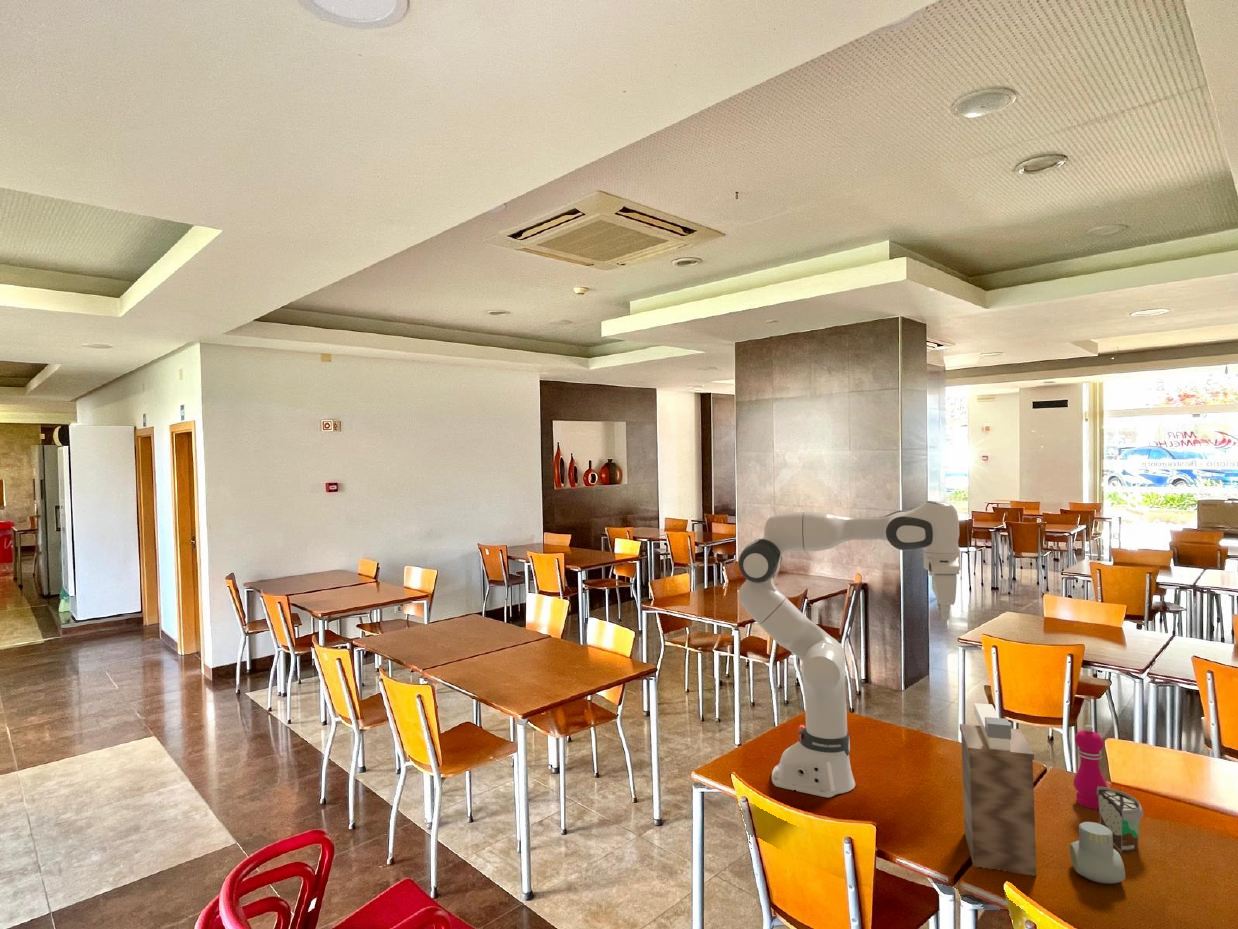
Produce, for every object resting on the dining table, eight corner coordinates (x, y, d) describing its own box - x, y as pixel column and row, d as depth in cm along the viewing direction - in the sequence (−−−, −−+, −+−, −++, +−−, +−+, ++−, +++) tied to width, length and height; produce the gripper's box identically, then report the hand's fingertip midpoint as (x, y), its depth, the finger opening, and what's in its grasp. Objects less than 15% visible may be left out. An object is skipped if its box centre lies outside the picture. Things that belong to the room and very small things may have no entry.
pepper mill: (1105, 799, 175) (1102, 722, 175) (1111, 813, 169) (1108, 732, 169) (1071, 794, 178) (1069, 718, 178) (1077, 807, 172) (1074, 728, 172)
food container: (1156, 859, 149) (1155, 813, 149) (1125, 856, 151) (1123, 811, 151) (1126, 829, 161) (1125, 787, 161) (1097, 827, 163) (1096, 785, 163)
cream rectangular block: (988, 748, 148) (987, 723, 148) (973, 713, 169) (972, 690, 169) (1011, 751, 146) (1010, 725, 146) (993, 714, 167) (992, 692, 167)
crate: (972, 866, 149) (967, 747, 149) (963, 833, 162) (959, 724, 162) (1038, 876, 145) (1034, 754, 145) (1023, 841, 158) (1019, 729, 158)
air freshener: (1068, 857, 151) (1066, 812, 151) (1112, 865, 148) (1111, 819, 148) (1080, 886, 141) (1078, 838, 141) (1128, 895, 138) (1126, 845, 138)
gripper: (925, 557, 190) (927, 606, 190) (932, 568, 171) (934, 623, 171) (950, 557, 188) (952, 607, 188) (960, 568, 169) (962, 624, 169)
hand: (943, 615), depth 179 cm, fingers open, 8 cm apart
